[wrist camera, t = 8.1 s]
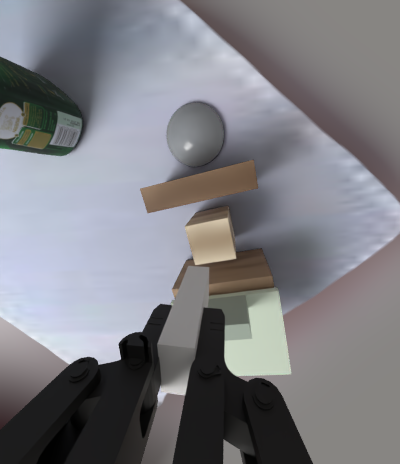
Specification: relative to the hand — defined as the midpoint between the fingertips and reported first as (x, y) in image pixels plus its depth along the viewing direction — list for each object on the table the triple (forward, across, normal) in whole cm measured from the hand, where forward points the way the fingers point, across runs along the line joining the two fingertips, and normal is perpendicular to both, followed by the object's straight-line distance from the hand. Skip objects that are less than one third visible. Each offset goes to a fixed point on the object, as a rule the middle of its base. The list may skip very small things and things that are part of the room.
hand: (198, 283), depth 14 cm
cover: (+6, +3, -10) cm, 12 cm away
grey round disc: (+14, -2, +12) cm, 18 cm away
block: (+14, 0, 0) cm, 14 cm away
